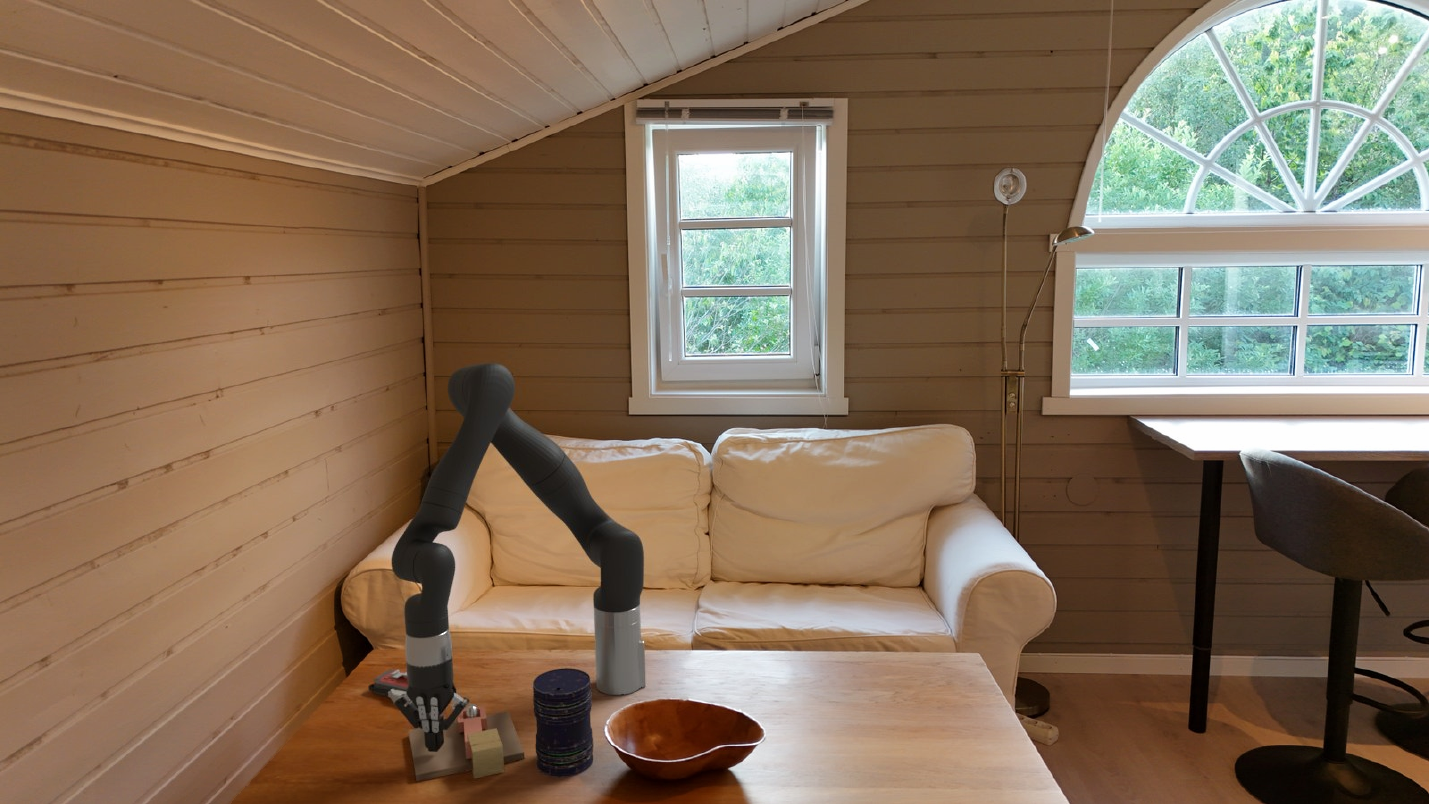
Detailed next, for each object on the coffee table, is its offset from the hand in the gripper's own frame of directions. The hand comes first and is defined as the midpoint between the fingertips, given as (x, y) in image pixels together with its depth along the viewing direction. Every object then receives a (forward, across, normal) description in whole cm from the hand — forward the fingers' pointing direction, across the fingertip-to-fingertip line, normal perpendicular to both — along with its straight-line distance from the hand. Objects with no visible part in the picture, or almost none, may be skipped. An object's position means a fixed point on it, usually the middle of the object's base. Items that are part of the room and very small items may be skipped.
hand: (435, 749), depth 164 cm
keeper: (+2, +9, 0) cm, 9 cm away
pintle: (+2, +2, +11) cm, 11 cm away
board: (+2, +3, +5) cm, 7 cm away
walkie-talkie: (+3, -14, +23) cm, 27 cm away
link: (+1, +4, +6) cm, 8 cm away
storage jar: (+2, +22, +2) cm, 23 cm away
